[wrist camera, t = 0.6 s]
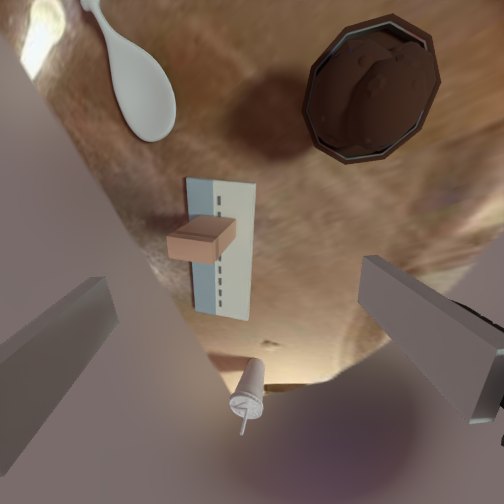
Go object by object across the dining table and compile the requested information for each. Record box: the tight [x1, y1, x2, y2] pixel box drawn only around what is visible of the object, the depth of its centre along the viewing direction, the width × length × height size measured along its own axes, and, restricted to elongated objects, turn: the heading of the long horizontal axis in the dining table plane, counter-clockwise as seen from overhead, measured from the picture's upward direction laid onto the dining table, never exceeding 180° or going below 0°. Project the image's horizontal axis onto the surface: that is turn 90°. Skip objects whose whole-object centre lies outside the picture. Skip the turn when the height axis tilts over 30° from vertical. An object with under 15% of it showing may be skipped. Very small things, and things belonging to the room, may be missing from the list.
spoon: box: [80, 0, 176, 142], centre depth 29 cm, size 9×32×4 cm, turn 23°
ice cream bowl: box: [302, 13, 441, 165], centre depth 22 cm, size 11×11×15 cm
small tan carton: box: [166, 215, 236, 265], centre depth 33 cm, size 3×6×10 cm, turn 87°
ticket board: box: [186, 177, 256, 321], centre depth 41 cm, size 26×11×1 cm, turn 177°
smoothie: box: [229, 358, 265, 435], centre depth 45 cm, size 6×6×14 cm
